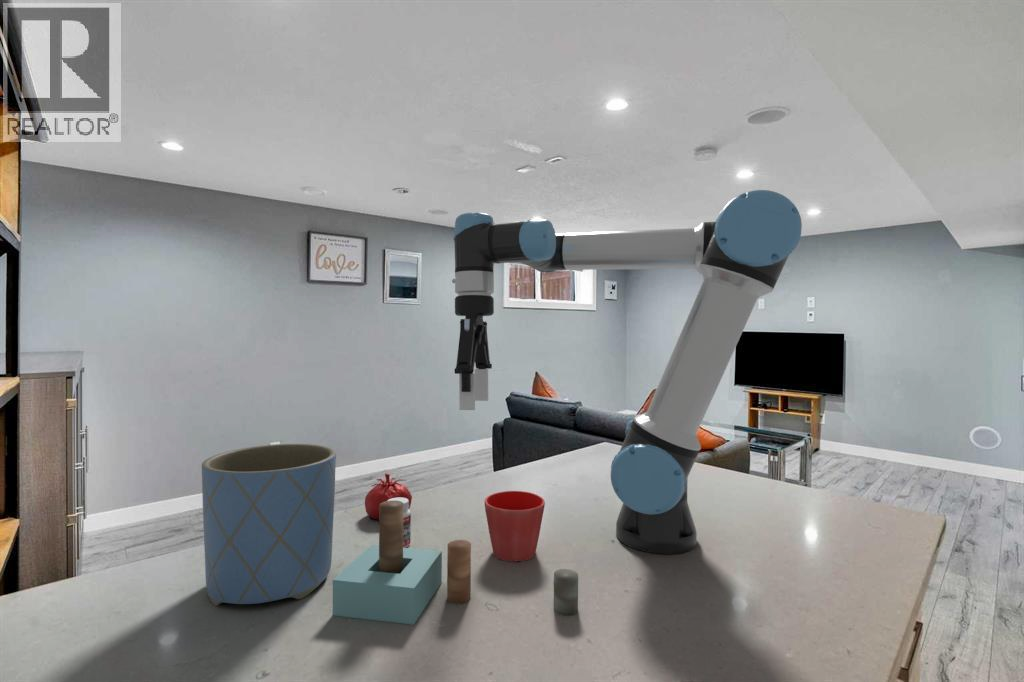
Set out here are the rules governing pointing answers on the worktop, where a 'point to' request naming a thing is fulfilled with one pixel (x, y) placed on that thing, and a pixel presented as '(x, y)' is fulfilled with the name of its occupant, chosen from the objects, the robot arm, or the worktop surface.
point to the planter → (267, 522)
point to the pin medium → (459, 571)
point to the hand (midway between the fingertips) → (474, 405)
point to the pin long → (391, 537)
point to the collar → (387, 586)
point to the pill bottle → (405, 520)
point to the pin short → (566, 592)
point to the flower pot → (514, 524)
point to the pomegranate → (384, 495)
